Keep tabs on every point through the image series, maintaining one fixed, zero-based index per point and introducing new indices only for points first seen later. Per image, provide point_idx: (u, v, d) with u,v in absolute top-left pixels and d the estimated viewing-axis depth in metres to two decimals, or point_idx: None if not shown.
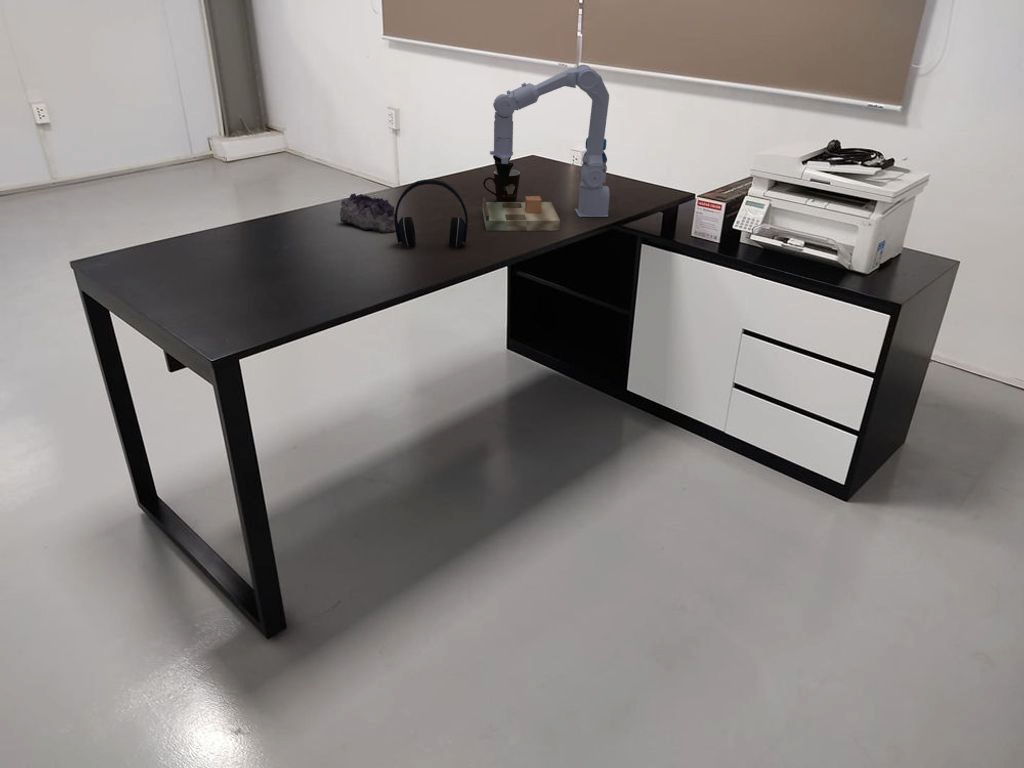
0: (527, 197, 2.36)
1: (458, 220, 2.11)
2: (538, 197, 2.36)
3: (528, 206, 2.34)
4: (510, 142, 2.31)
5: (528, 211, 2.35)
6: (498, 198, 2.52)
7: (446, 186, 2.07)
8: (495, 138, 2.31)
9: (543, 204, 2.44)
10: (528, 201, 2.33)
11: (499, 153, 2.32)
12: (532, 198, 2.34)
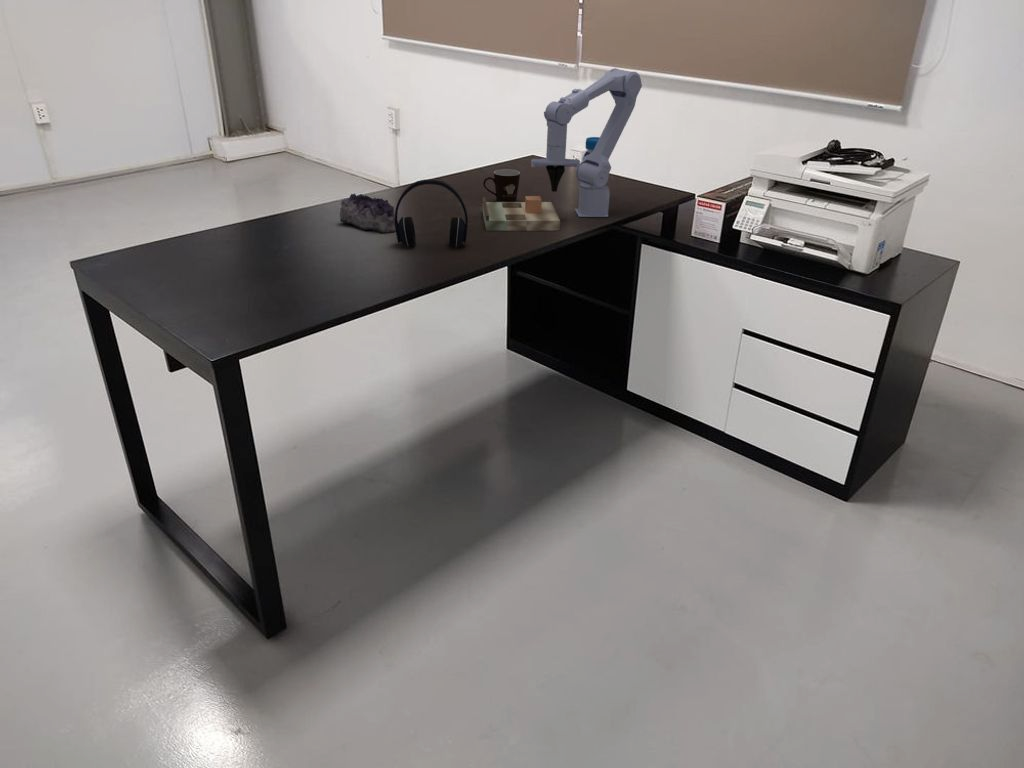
0: (527, 197, 2.36)
1: (458, 220, 2.11)
2: (538, 197, 2.36)
3: (528, 206, 2.34)
4: (550, 150, 2.27)
5: (528, 211, 2.35)
6: (498, 198, 2.52)
7: (446, 186, 2.07)
8: None
9: (543, 204, 2.44)
10: (528, 201, 2.33)
11: None
12: (532, 198, 2.34)
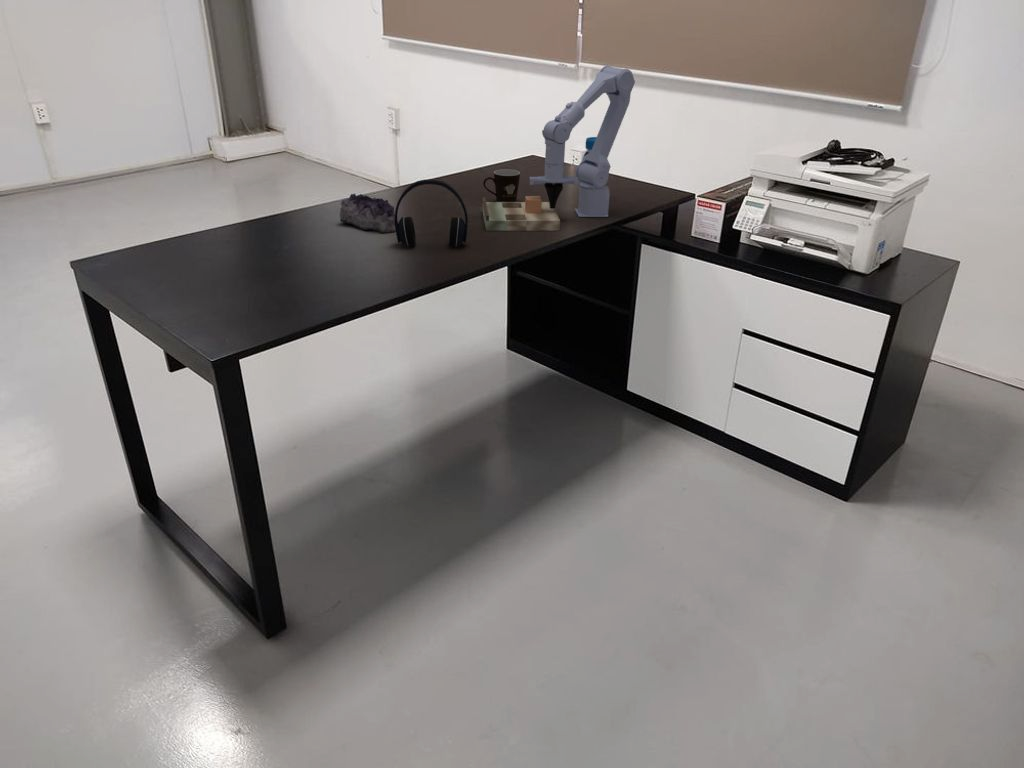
0: (527, 197, 2.36)
1: (458, 220, 2.11)
2: (538, 197, 2.36)
3: (528, 206, 2.34)
4: (548, 168, 2.29)
5: (528, 211, 2.35)
6: (498, 198, 2.52)
7: (446, 186, 2.07)
8: None
9: (543, 204, 2.44)
10: (528, 201, 2.33)
11: (544, 176, 2.33)
12: (532, 198, 2.34)
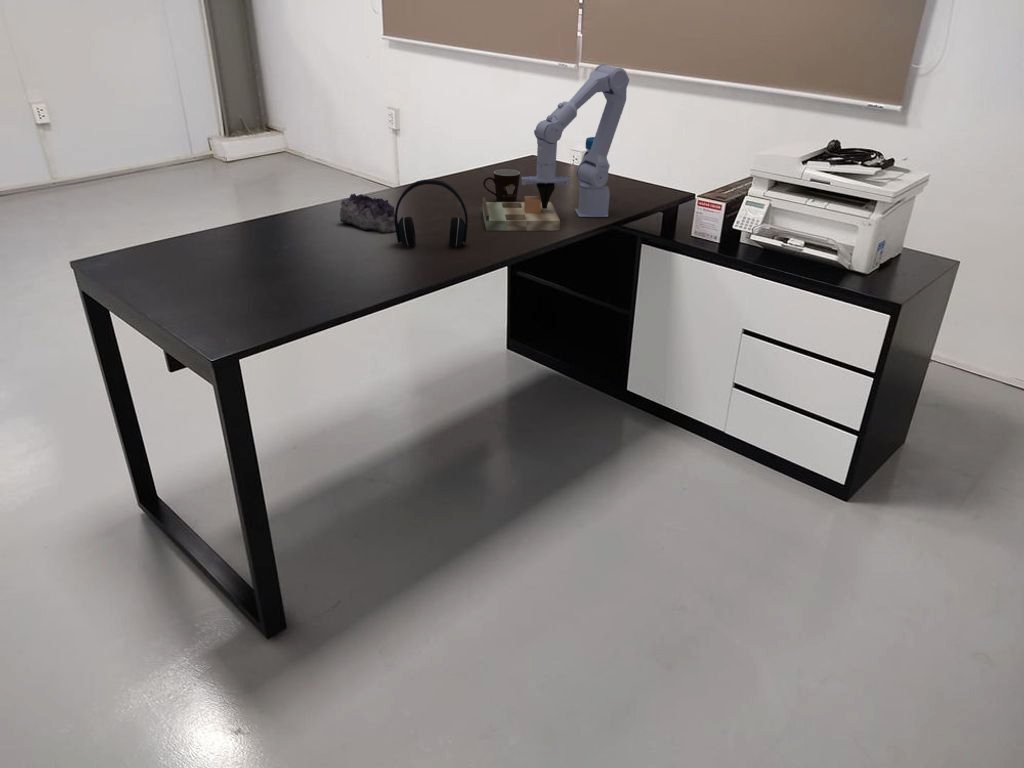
0: (526, 197, 2.36)
1: (458, 220, 2.11)
2: (537, 197, 2.36)
3: (527, 206, 2.34)
4: (540, 168, 2.29)
5: (527, 211, 2.35)
6: (498, 198, 2.52)
7: (446, 186, 2.07)
8: None
9: None
10: (527, 201, 2.33)
11: None
12: (532, 198, 2.34)
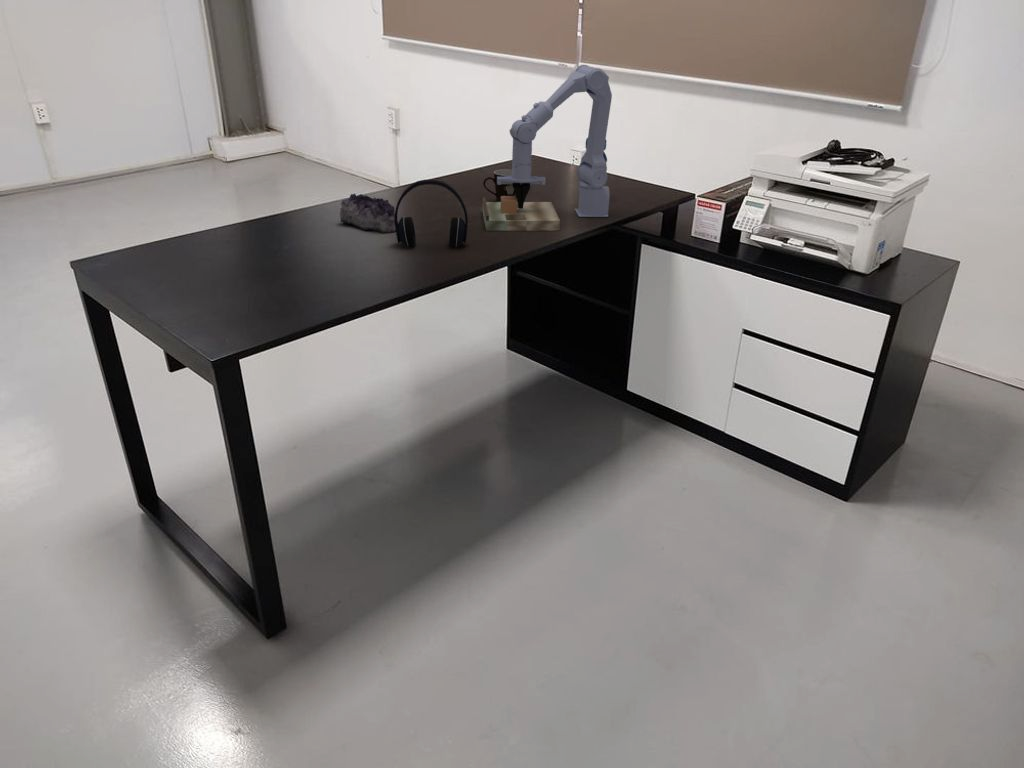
0: (502, 197, 2.35)
1: (458, 220, 2.11)
2: (513, 197, 2.35)
3: (503, 206, 2.33)
4: (515, 168, 2.28)
5: (503, 211, 2.34)
6: (498, 198, 2.52)
7: (446, 186, 2.07)
8: None
9: (543, 204, 2.44)
10: (503, 201, 2.32)
11: (512, 176, 2.33)
12: (507, 198, 2.34)
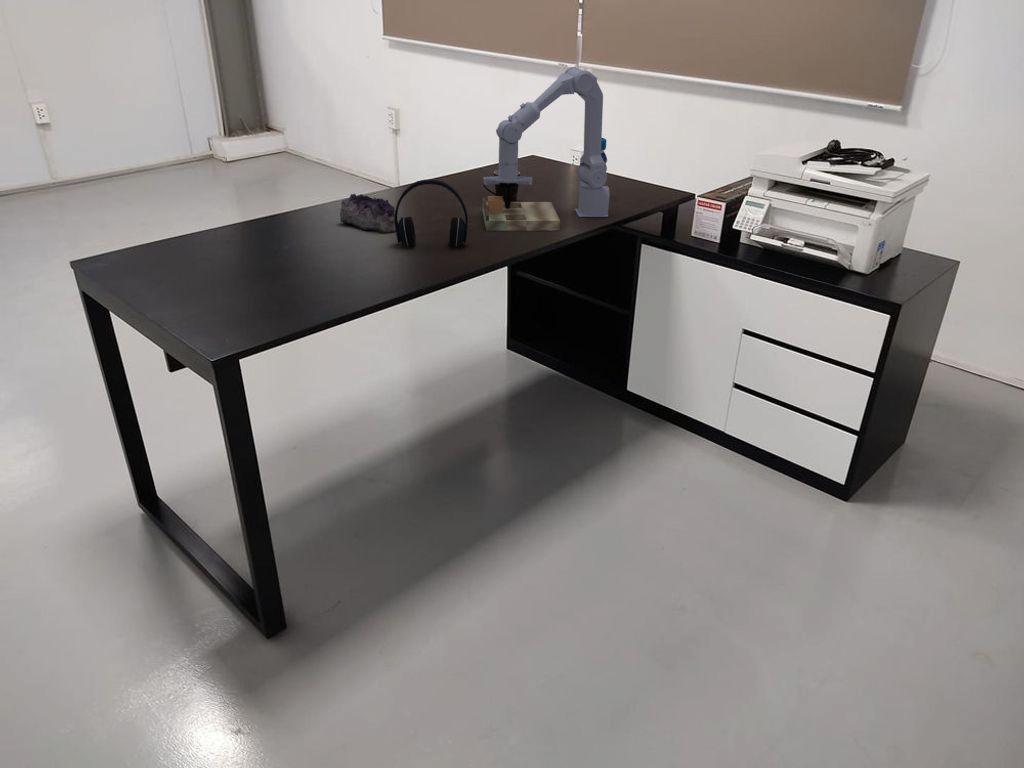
0: (489, 197, 2.34)
1: (458, 220, 2.11)
2: (500, 197, 2.35)
3: (490, 206, 2.33)
4: (502, 168, 2.28)
5: (490, 211, 2.34)
6: None
7: (446, 186, 2.07)
8: None
9: (543, 204, 2.44)
10: (490, 201, 2.32)
11: (499, 176, 2.32)
12: (494, 199, 2.33)
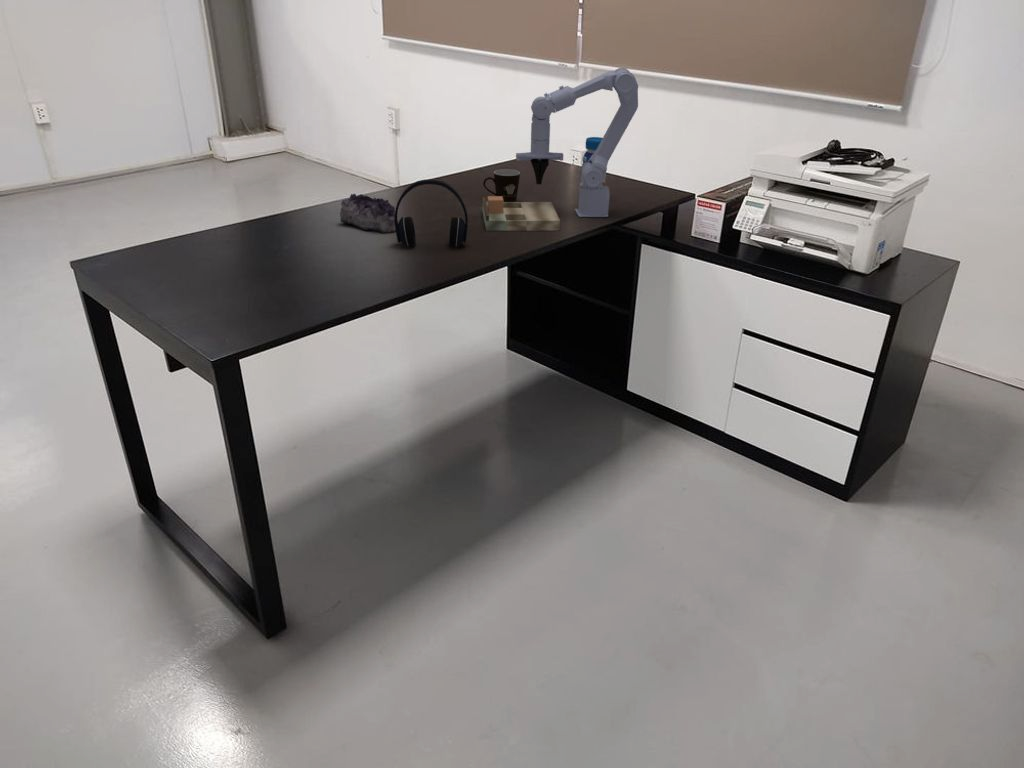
0: (489, 197, 2.34)
1: (458, 220, 2.11)
2: (500, 197, 2.35)
3: (490, 206, 2.33)
4: (534, 144, 2.34)
5: (490, 211, 2.34)
6: None
7: (446, 186, 2.07)
8: None
9: (543, 204, 2.44)
10: (490, 201, 2.32)
11: (530, 152, 2.38)
12: (494, 199, 2.33)
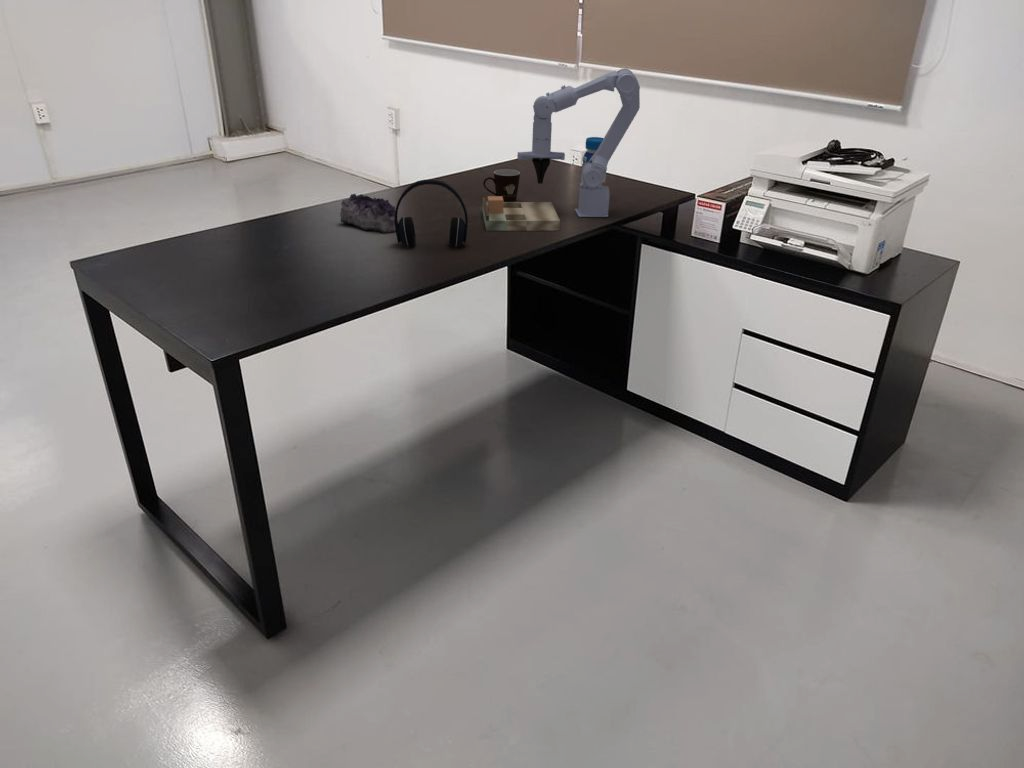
0: (489, 197, 2.34)
1: (458, 220, 2.11)
2: (500, 197, 2.35)
3: (490, 206, 2.33)
4: (536, 143, 2.34)
5: (490, 211, 2.34)
6: None
7: (446, 186, 2.07)
8: None
9: (543, 204, 2.44)
10: (490, 201, 2.32)
11: (532, 151, 2.38)
12: (494, 199, 2.33)
